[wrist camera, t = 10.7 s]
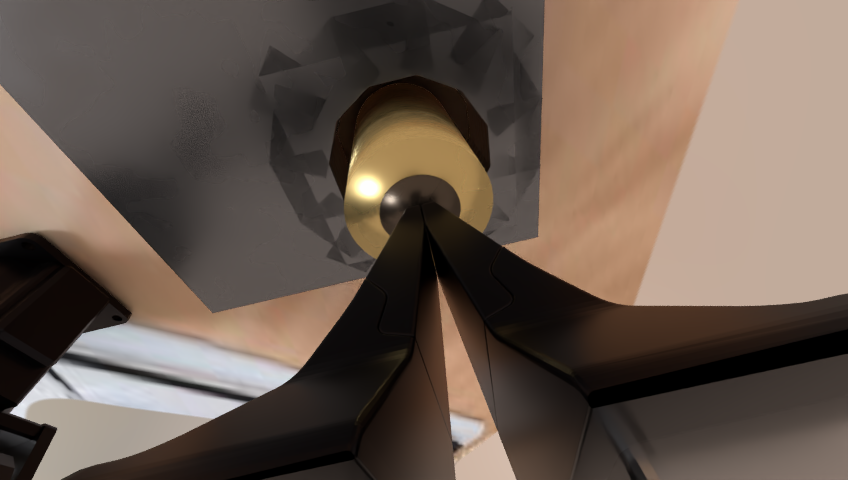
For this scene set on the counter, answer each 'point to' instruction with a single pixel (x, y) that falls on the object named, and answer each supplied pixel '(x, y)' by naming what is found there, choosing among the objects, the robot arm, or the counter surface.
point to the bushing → (409, 166)
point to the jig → (265, 118)
